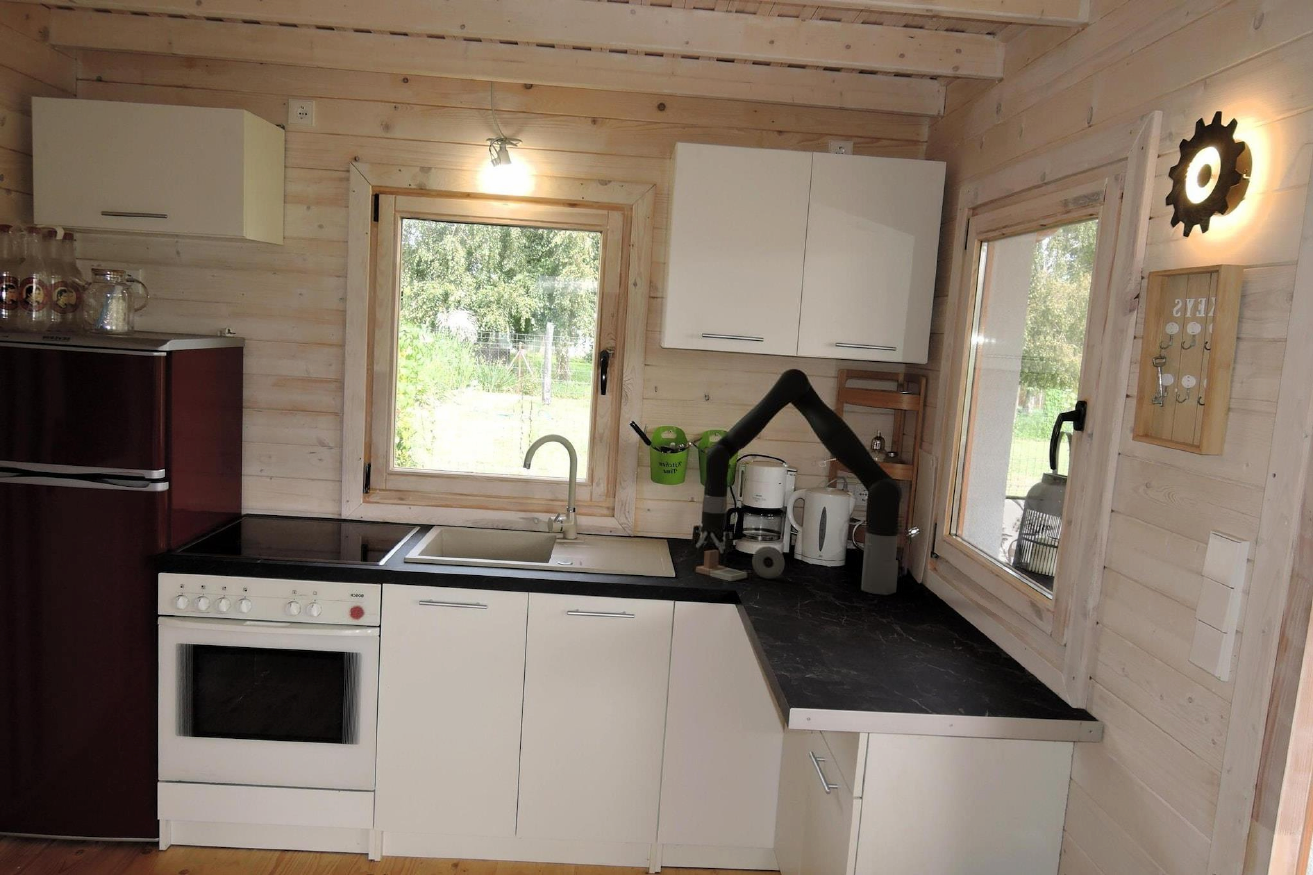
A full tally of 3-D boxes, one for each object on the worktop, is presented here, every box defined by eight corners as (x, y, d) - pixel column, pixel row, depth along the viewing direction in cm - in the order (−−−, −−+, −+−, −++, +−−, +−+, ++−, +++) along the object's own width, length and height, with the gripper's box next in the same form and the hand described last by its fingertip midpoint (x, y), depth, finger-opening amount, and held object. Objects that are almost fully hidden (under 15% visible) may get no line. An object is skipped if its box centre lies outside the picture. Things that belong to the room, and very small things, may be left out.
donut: (749, 577, 281) (751, 544, 280) (752, 575, 284) (755, 543, 284) (781, 582, 277) (784, 549, 277) (784, 580, 281) (787, 547, 280)
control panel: (746, 577, 281) (747, 572, 281) (730, 581, 275) (730, 575, 275) (725, 572, 286) (726, 567, 286) (709, 575, 280) (709, 570, 280)
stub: (724, 571, 286) (726, 551, 286) (708, 575, 280) (709, 553, 280) (712, 568, 290) (713, 548, 289) (695, 571, 284) (697, 550, 283)
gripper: (740, 512, 281) (736, 565, 283) (704, 505, 291) (700, 556, 292) (725, 514, 276) (721, 568, 277) (688, 507, 285) (685, 559, 287)
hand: (711, 562), depth 285 cm, fingers open, 8 cm apart
